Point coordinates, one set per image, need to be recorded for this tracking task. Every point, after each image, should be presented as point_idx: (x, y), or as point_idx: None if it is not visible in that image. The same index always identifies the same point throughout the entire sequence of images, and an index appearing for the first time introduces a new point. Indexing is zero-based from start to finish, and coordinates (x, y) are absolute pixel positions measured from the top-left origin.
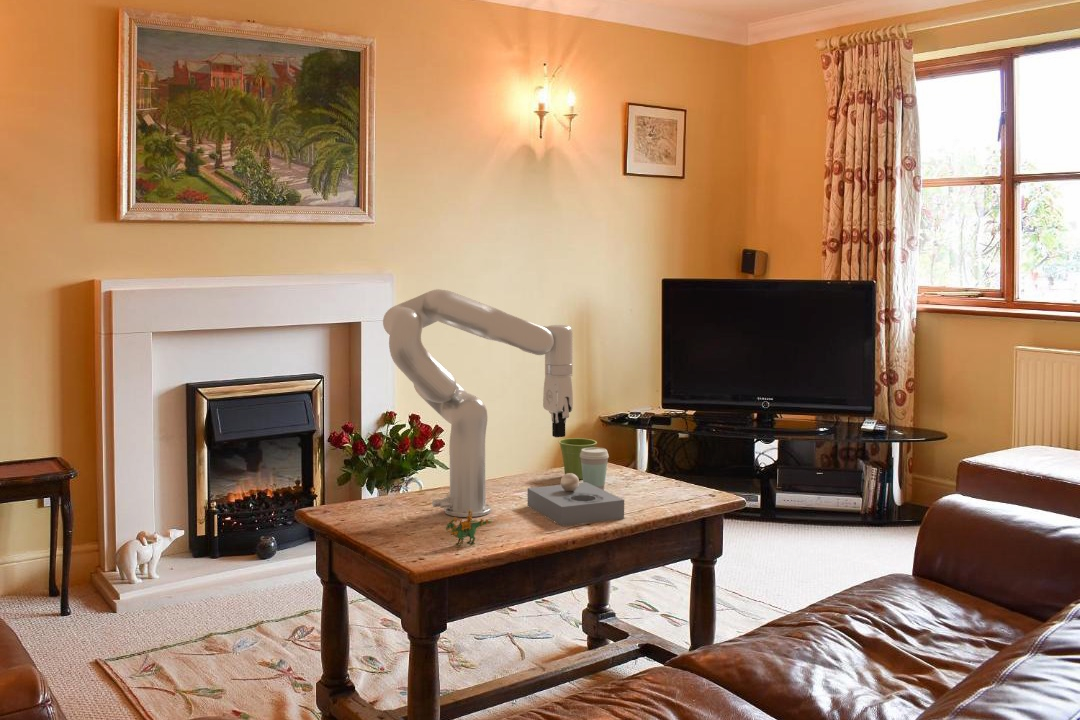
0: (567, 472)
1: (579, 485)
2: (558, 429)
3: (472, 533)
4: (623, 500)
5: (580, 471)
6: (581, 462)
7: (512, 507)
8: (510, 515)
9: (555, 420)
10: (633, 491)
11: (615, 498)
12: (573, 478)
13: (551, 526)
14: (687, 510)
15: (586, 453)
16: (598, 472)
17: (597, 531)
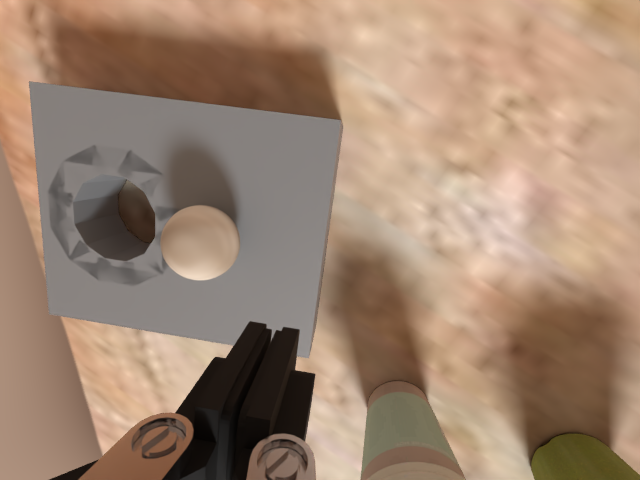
0: (585, 447)
1: (277, 311)
2: (198, 380)
3: None
4: (50, 310)
5: (545, 474)
6: (434, 450)
7: (356, 69)
8: (266, 6)
9: (180, 446)
10: (325, 474)
11: (73, 303)
12: (160, 244)
13: (94, 64)
14: None
15: None
16: (364, 449)
17: (7, 157)
